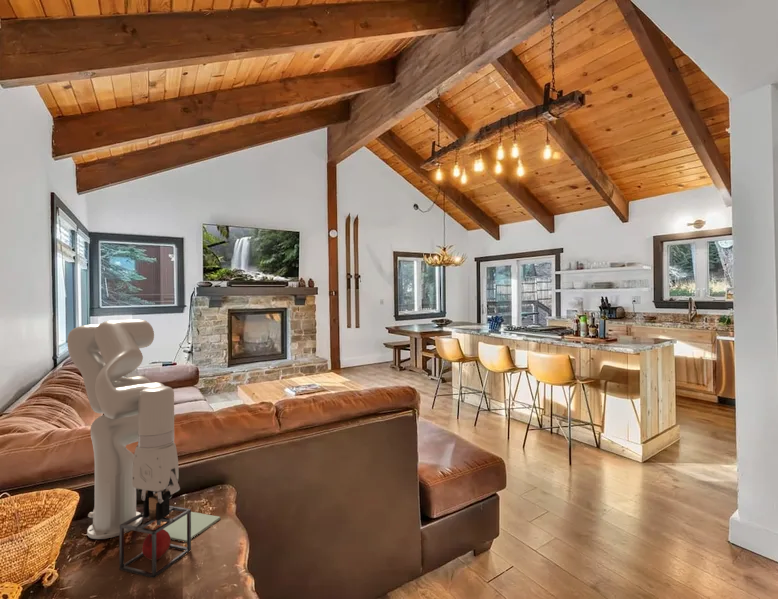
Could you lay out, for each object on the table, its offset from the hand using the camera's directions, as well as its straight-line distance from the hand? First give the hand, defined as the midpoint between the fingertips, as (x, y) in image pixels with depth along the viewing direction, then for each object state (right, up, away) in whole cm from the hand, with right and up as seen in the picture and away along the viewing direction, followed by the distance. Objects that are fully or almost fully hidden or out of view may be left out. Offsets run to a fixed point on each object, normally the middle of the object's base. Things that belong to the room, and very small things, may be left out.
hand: (156, 515), depth 93 cm
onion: (0, -11, 0) cm, 11 cm away
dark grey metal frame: (0, -10, 0) cm, 10 cm away
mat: (0, -11, +14) cm, 18 cm away
